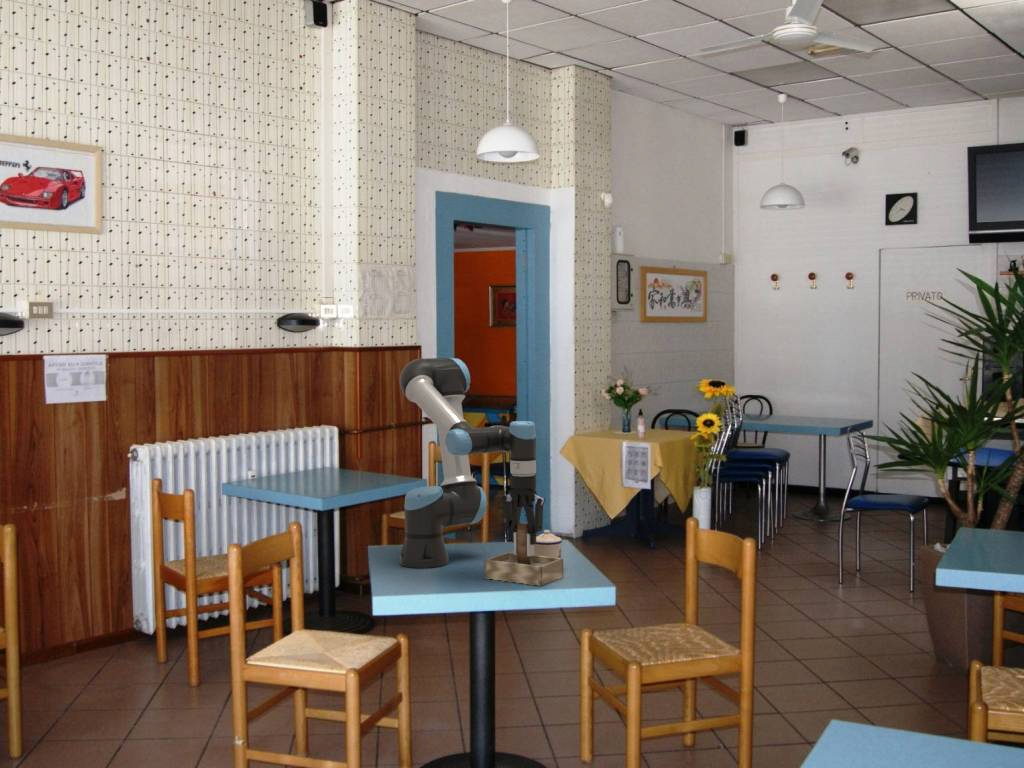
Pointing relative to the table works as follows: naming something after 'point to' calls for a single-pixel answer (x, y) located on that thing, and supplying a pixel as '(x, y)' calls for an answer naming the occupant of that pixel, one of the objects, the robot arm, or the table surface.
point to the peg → (522, 544)
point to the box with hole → (523, 569)
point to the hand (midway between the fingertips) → (523, 554)
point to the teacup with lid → (548, 545)
